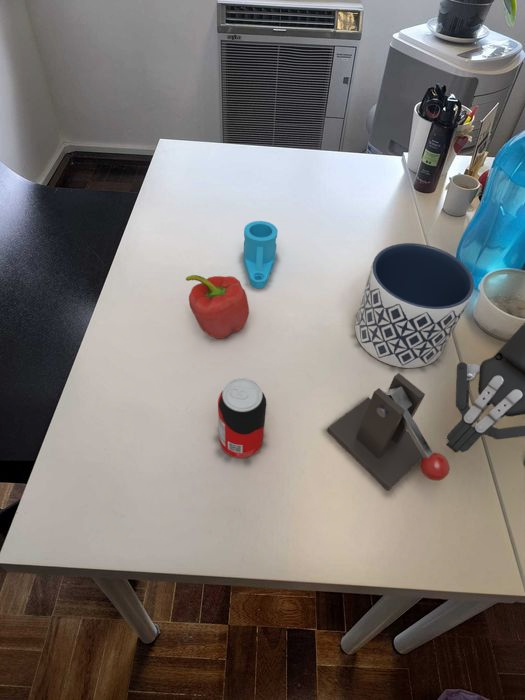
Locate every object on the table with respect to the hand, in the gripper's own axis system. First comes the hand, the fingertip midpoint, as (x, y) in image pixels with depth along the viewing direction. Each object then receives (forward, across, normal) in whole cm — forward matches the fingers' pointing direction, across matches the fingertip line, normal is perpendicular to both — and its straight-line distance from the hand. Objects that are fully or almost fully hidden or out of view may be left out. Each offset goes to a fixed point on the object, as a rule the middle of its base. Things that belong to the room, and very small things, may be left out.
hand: (452, 448), depth 60 cm
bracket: (0, -50, +12) cm, 52 cm away
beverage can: (+19, -21, -6) cm, 29 cm away
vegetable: (+11, -42, +1) cm, 44 cm away
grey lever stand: (+8, -9, +5) cm, 13 cm away
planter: (-6, -21, +19) cm, 29 cm away
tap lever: (+3, -5, 0) cm, 6 cm away
